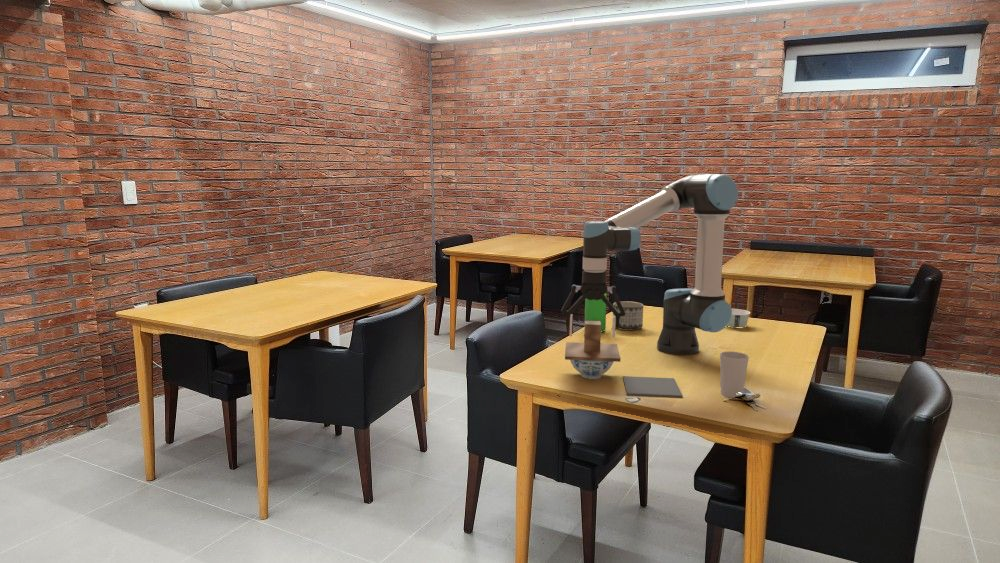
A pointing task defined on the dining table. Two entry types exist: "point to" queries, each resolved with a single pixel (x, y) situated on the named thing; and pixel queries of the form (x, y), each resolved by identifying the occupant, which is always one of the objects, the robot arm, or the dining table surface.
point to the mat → (651, 386)
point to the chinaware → (591, 368)
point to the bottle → (596, 311)
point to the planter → (630, 315)
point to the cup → (733, 372)
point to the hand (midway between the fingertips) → (592, 336)
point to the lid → (592, 346)
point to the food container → (738, 318)
